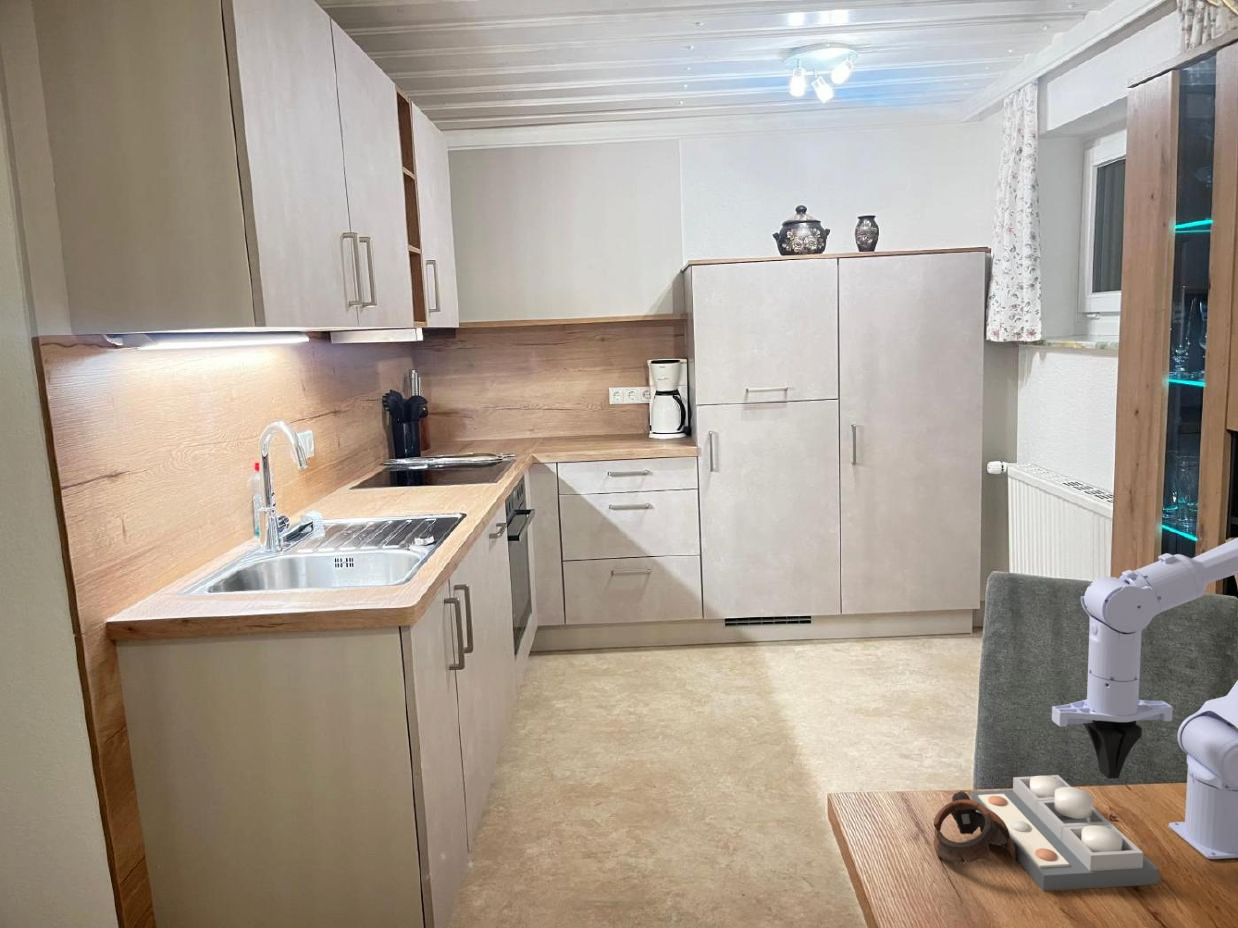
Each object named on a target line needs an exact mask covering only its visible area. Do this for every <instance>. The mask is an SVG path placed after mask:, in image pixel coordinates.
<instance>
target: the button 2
mask: <svg viewBox="0 0 1238 928" xmlns="http://www.w3.org/2000/svg"><path fill="white" fill-rule="evenodd" d="M1081 841H1082V842H1083V843H1084V844H1085V845H1086V846H1087V847H1088V848H1089V849H1090V850H1091V851H1092V852H1111V851H1122V836H1121V835H1120V834H1119V833H1117V832H1116V831H1114V830H1112V829H1110V828H1107V827H1103V826H1096V825H1091V826H1086V827H1084V828H1083V829H1082V836H1081Z"/></svg>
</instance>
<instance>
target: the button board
mask: <svg viewBox="0 0 1238 928" xmlns="http://www.w3.org/2000/svg"><path fill="white" fill-rule="evenodd" d="M1034 776H1035V775H1034ZM1034 776H1033V775H1032V776H1031V775H1030V776H1015V777H1013V779H1012V786H1013V787H1012V789H1000V790H983V791H980V790H979V791H971V798H970V800H973V801H976V802H978V803H979V804H981V805H983V806H984V807H985V808H987V809H989V810H991V811H993V812H994V813H996V814H997V815H998V816H999V817H1000V818H1001V819H1002V820H1003V821H1004V823H1005V824H1006V826H1007V828H1008V830H1009V835H1010V838H1011V840H1012V842H1013V845H1014V848H1015V856H1016V861H1018V863H1019V864H1020V865H1021V867H1023V869H1024V870H1025V871H1026V872H1027V874H1028V875H1029V876H1030V877H1031V878H1032V879H1033V881H1035V883H1036V884H1037V886H1039V888H1040V889H1041V890H1042V891H1043V892H1047V891H1048V892H1050V891H1064V890H1066V891H1067V890H1082V889H1083V890H1085V889H1100V888H1114V887H1115V888H1116V887H1117V888H1118V887H1121V888H1122V887H1134V886H1135V887H1138V886H1153V885H1154V886H1156V885H1159V872H1160V869H1159V867H1158V866H1156V865H1155V864H1154V863H1153V862H1152V861H1151V860H1150V859H1149V858H1148V857H1147V856H1145V855H1144V852H1143V851H1142V850H1141V848H1139V847H1138V846H1136V845H1135V844H1134V843H1133V842H1132V841H1131V840H1130V838H1128V837H1127V836H1126V835H1125V834H1123V833H1122V832H1121V831H1120V830H1119V829H1118V828H1117V827H1116V826H1115V825H1114V824H1112V822H1110V821H1109V820H1108V819H1107V818H1106V817H1105V816H1104V815H1103V814H1101V813H1100V811H1098V810H1097V809H1096V808H1095V807H1094V806H1093V807H1092V815H1091V816H1090V817H1089V818H1084V819H1077V818H1071V817H1067V816H1064V815H1062V814H1060V813H1059V812H1057V811H1056V810H1055V808H1054V801H1055V797H1046V798H1038V797H1037V796H1036V795H1035V794H1034V793H1033V792H1032V791H1031V790H1030V779H1031V778H1032V777H1034ZM1048 776H1049V777H1053V778H1056V779H1059V780H1061V781H1062V782H1063V783H1064V784H1065V787H1072V786H1071V785H1070V784H1069V783H1067V781H1065V780H1064V779H1063V778H1062V777H1060V775H1059V774H1053V775H1052V774H1051V775H1048ZM976 812H979V813H981V812H980V811H978V810H976ZM1091 825H1096V826H1103V827H1107V828H1110V829H1112V830H1114V831H1116V832H1117V833H1119V834H1120V835H1121V836H1122V851H1111V852H1092V851H1091V850H1090V849H1089V848H1088V847H1087V846H1086V845H1085V844H1084V843H1083V842H1082V841H1081V836H1082V829H1083V828H1084V827H1086V826H1091Z"/></svg>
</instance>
